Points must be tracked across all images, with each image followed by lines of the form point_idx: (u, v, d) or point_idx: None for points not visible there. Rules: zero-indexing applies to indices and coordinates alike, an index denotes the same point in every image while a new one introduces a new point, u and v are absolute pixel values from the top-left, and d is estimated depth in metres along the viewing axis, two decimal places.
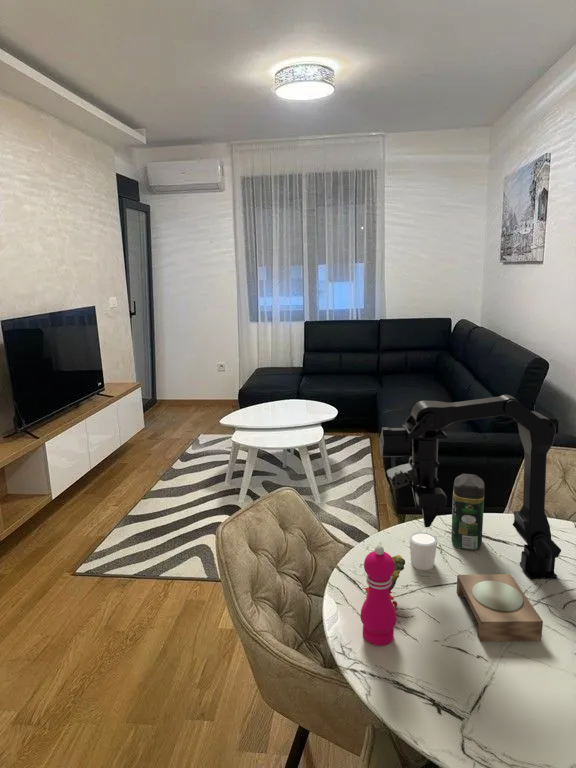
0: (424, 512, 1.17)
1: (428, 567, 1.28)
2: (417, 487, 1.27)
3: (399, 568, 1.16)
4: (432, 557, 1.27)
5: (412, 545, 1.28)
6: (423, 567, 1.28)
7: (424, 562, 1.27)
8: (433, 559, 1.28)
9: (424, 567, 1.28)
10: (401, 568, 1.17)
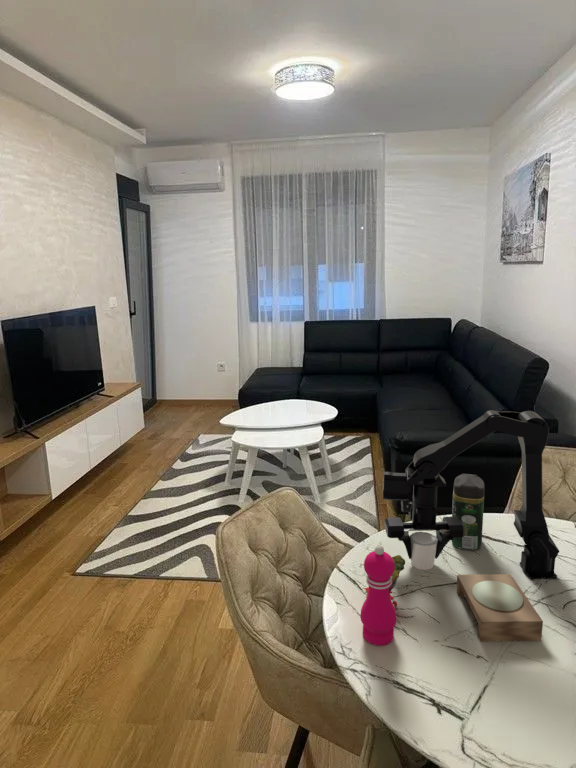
0: None
1: (428, 567, 1.28)
2: (437, 537, 1.29)
3: (399, 568, 1.16)
4: (432, 557, 1.27)
5: (412, 544, 1.28)
6: (423, 567, 1.28)
7: (424, 562, 1.27)
8: (433, 559, 1.28)
9: (424, 567, 1.28)
10: (401, 568, 1.17)
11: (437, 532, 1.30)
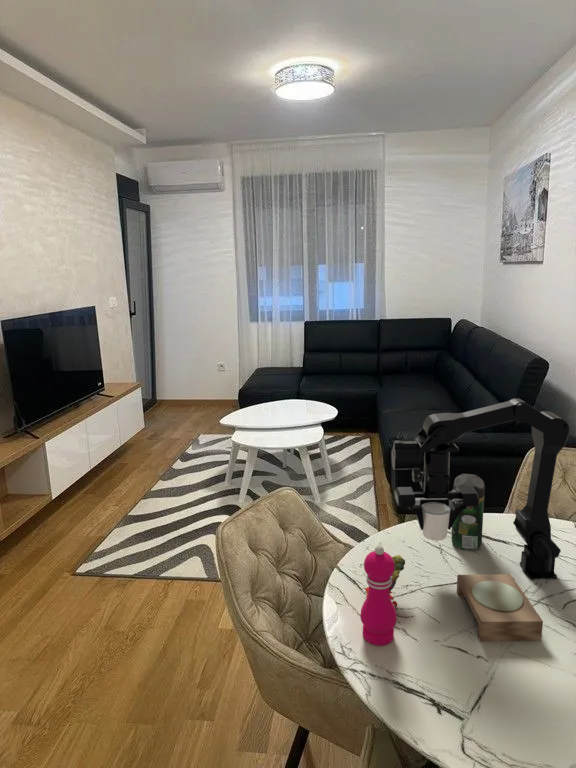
0: None
1: (441, 538, 1.23)
2: (450, 507, 1.24)
3: (399, 568, 1.16)
4: (445, 527, 1.22)
5: (424, 514, 1.23)
6: (435, 538, 1.23)
7: (436, 532, 1.22)
8: (446, 529, 1.23)
9: (436, 538, 1.22)
10: (401, 568, 1.17)
11: (450, 502, 1.24)
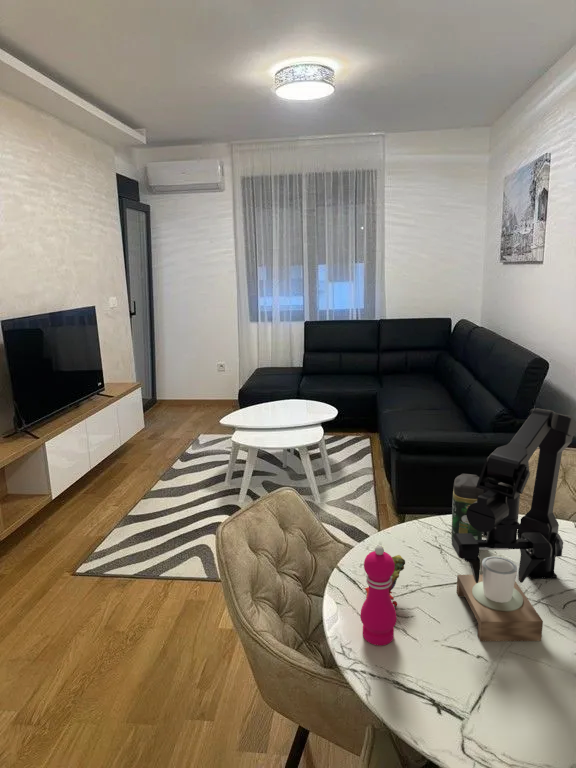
0: None
1: (506, 600, 1.07)
2: (523, 556, 1.08)
3: (399, 568, 1.16)
4: (511, 587, 1.07)
5: (487, 572, 1.07)
6: (500, 599, 1.07)
7: (501, 593, 1.06)
8: (512, 590, 1.07)
9: (501, 599, 1.07)
10: (401, 568, 1.17)
11: (522, 551, 1.08)
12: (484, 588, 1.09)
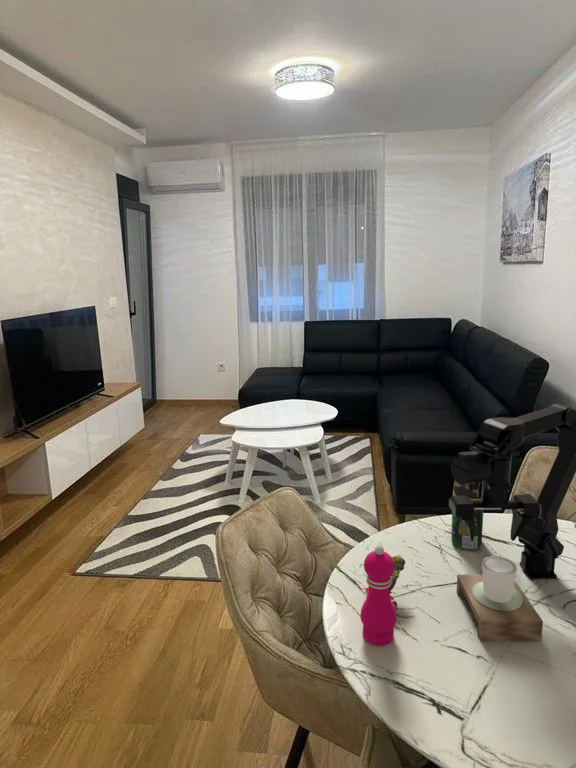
0: (464, 520, 1.18)
1: (506, 600, 1.07)
2: (514, 517, 1.17)
3: (399, 568, 1.16)
4: (511, 587, 1.07)
5: (487, 573, 1.07)
6: (500, 599, 1.07)
7: (501, 594, 1.06)
8: (512, 590, 1.07)
9: (501, 599, 1.07)
10: (401, 568, 1.17)
11: (514, 511, 1.17)
12: (484, 588, 1.09)
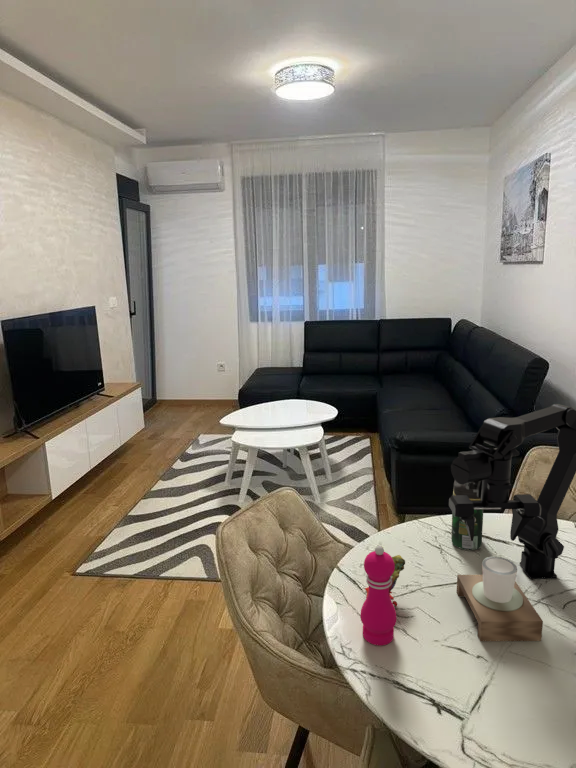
0: (464, 520, 1.18)
1: (506, 600, 1.07)
2: (514, 516, 1.17)
3: (399, 568, 1.16)
4: (511, 588, 1.07)
5: (487, 573, 1.07)
6: (500, 600, 1.07)
7: (501, 594, 1.06)
8: (512, 590, 1.07)
9: (501, 600, 1.07)
10: (401, 568, 1.17)
11: (514, 511, 1.17)
12: (484, 588, 1.09)
